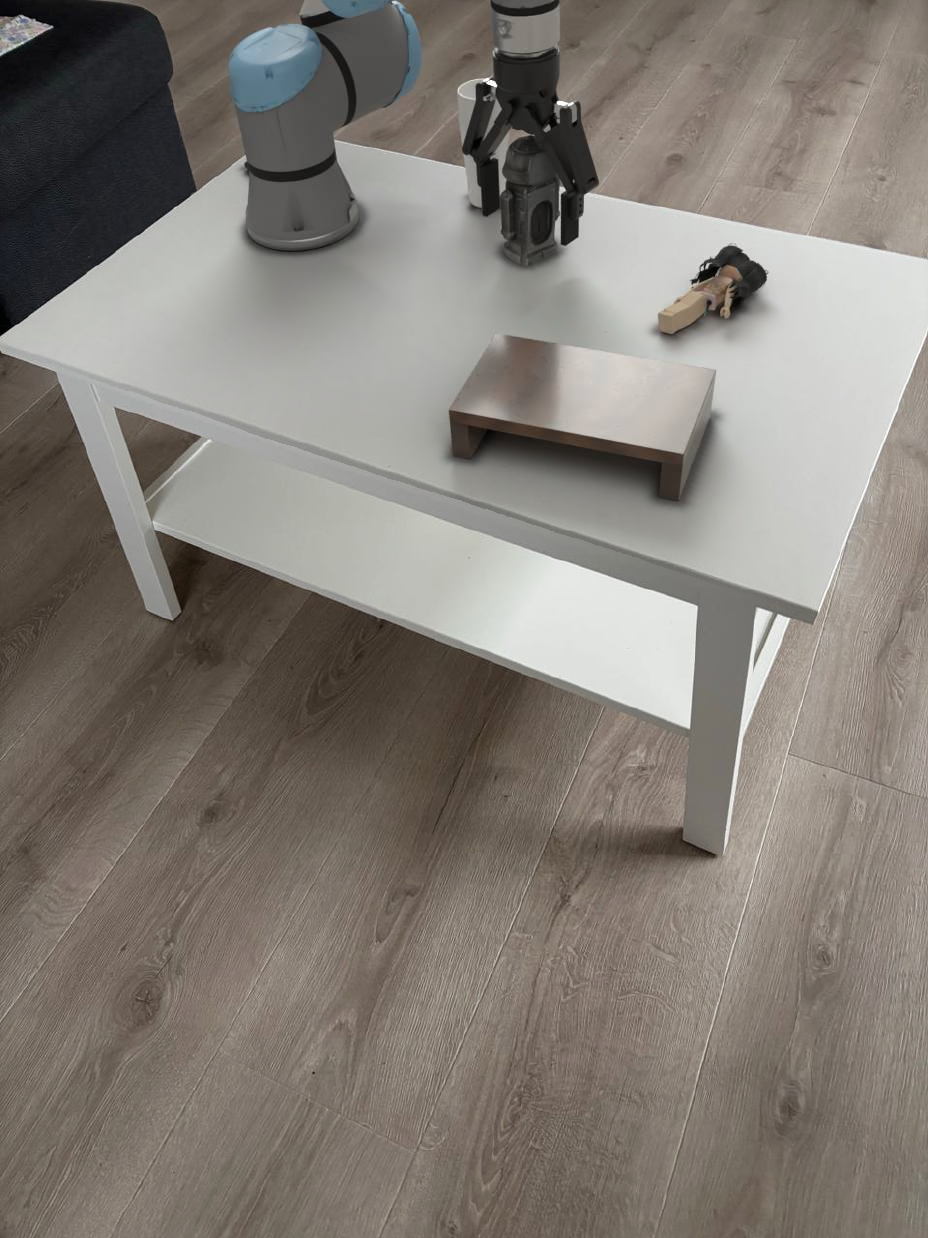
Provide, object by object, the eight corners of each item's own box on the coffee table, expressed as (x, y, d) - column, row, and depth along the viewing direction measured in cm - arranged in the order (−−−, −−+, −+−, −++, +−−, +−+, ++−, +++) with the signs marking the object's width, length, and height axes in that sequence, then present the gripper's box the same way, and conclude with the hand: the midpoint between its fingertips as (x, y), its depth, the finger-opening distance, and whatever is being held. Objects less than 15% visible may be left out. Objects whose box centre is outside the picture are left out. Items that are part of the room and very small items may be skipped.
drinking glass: (508, 213, 147) (504, 100, 136) (459, 211, 148) (451, 99, 137) (516, 189, 151) (513, 77, 140) (468, 187, 152) (462, 76, 141)
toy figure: (704, 351, 124) (774, 287, 130) (702, 302, 119) (775, 238, 126) (652, 336, 128) (722, 275, 134) (648, 288, 123) (721, 227, 130)
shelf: (452, 455, 114) (448, 409, 109) (498, 378, 122) (495, 332, 118) (678, 501, 107) (683, 454, 103) (710, 416, 115) (716, 369, 111)
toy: (540, 230, 143) (539, 115, 132) (569, 247, 140) (571, 131, 129) (490, 253, 140) (484, 138, 129) (518, 271, 137) (515, 154, 126)
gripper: (423, 34, 125) (438, 211, 141) (593, 81, 114) (589, 267, 130) (466, 13, 129) (476, 187, 145) (635, 56, 117) (625, 241, 134)
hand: (529, 226), depth 138 cm, fingers open, 12 cm apart
